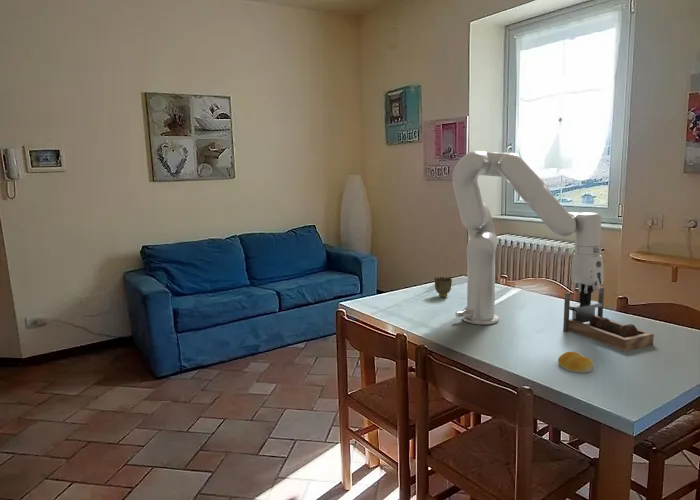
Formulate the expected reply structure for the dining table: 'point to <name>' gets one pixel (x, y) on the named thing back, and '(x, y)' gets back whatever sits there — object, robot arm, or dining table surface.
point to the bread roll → (575, 362)
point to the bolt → (614, 327)
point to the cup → (443, 285)
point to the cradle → (603, 336)
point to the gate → (584, 311)
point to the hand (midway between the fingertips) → (585, 303)
